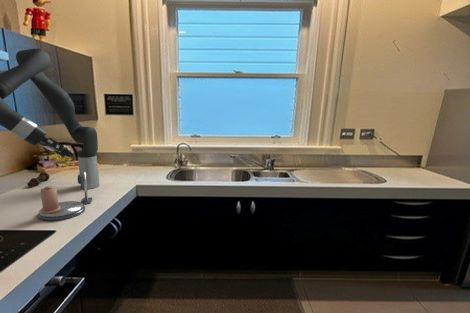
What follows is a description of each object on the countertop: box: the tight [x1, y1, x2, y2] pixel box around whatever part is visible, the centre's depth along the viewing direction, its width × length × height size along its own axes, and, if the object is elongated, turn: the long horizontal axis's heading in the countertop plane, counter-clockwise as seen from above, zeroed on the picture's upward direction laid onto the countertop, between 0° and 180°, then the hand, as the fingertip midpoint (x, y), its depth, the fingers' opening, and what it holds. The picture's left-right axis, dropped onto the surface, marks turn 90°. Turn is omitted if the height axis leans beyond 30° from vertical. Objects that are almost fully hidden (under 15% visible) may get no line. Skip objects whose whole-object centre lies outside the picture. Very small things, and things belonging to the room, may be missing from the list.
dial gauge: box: [77, 172, 94, 205], centre depth 129 cm, size 4×4×15 cm
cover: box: [40, 185, 61, 214], centre depth 113 cm, size 7×7×10 cm
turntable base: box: [37, 204, 86, 222], centre depth 118 cm, size 17×17×1 cm
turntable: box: [38, 200, 85, 218], centre depth 118 cm, size 16×16×1 cm
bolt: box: [27, 171, 51, 188], centre depth 157 cm, size 6×5×15 cm
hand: (67, 155), depth 117 cm, fingers open, 8 cm apart
